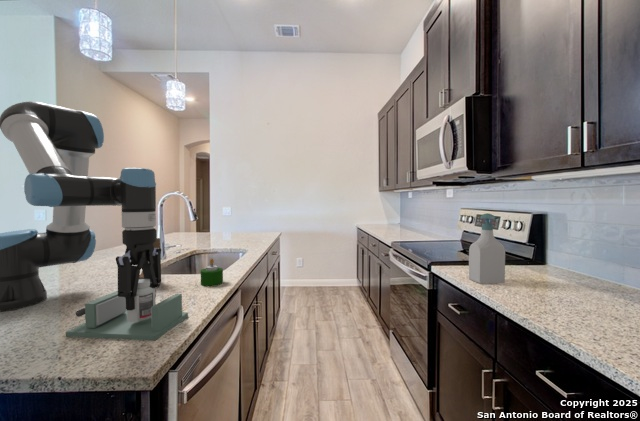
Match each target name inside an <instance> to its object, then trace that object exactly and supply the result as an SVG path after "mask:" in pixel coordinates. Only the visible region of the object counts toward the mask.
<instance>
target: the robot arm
mask: <svg viewBox="0 0 640 421" xmlns="http://www.w3.org/2000/svg"><path fill="white" fill-rule="evenodd" d="M0 130H1V133H2V134H3V135H4V137H5V138H6V139H7V140H9V141H10V142H12V143H13V145H14V147H15V149H16V151H17V153H18V154H19V155H18V156H20V158H21V160H22V162H23V164H24V166H25V168H26V170H27V172H28V173H29V174H28V175H26V177H25V179H24V184H23V185H24V187H23V189H24V192H23V193H24V195H25V200H26V202H27V203H28V204H29V205H31V206H34V207H49V208H53V210H52V222H51V223H49V224H47V225H46V227H45V228H46V229H45V232H38V230H37V228H31V229H30V228H28V229H19V230H12V231H6V232H1V233H0V312H6V311H13V310H17V309H18V310H19V309H21V308H26V307H29V306H33V305H36V304H39V303H41V302H44V301H45V300H47V299H48V294H47V293H48V292H47V290H46V288H45V285H44V284H43V281H42V280H41V278H40V275H39V272H40V271H39V269H40V268H44V267H52V266H58V265H60V266H61V265H67V264H74V263H78V262H83V261H84V262H85V261H87V260H88V259H90V257H92V256H93V254H94V253H95V249H96V244H97V240H96V234H95V231H94V230H93V229H90V225H88V224H87V223H86V222H85V221H86V206H87V207H88V206H89V207H91V206H93V207H95V206H97V207H98V206H99V207H100V206H104V207H108V206H109V207H110V206H118V207H119V206H121V228H122V229H123V230H122V231H121V232H122V235H121V236H122V240H121V241H122V244H123V245H125V246H126V248H125V251H124V254H122V255H120V256H116V257H115V263H116V265H117V291H118V297H125V298H126V310H127V322H139V321H140V315H139V296H136V293H137V287H138V281H139V275H140V274H141V272H142V271H143V275H144V279H150V286H149V287H151V288H153V293H154V294H153V295H154V305H156V304H157V303H156V299H157V298H156V297H157V291H156V290H157V289H156V288H160V286H161V285H160V283H162V264H161V263H162V261H161V262H160V255H161V256H162V248H161V247H160V248H154V246H153V243H155V242H156V241H157V238H158V237H157V232H158V231H157V229H156V228H154V227H156V226H157V212H156V209H157V207H156V206H157V205H156V204H157V203H156V202H157V200H156V199H157V197H156V196H157V194H156V193H157V192H156V191H157V183H156V176H155V175H156V174H155V172H154V171H153V170H152V169H149V168H141V167H124V168H121V171H120V177H107V176H88V175H89V166H90V165H89V164H90V157H92V156H93V155H95V154H96V149H100V148H102V147H103V144H104V143H105V142H104V141H105V139H104V138H105V136H104V135H105V134H104V128H103V125H102V123H101V121H100V119H99V118H98V116H96V115H95V114H93V113H90V112H86V111H83V110H81V109H79V110H78V109H73V108H68V107H64V106H59V105H54V104H49V103H44V102H40V101H22V102H18V103H15V104H12V105H10V106H9V107H7V108H6V109H5V110H3V112H2V113H1V114H0ZM156 278H157V279H156ZM158 283H159V284H158Z"/></svg>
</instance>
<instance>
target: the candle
mask: <svg viewBox="0 0 640 421" xmlns="http://www.w3.org/2000/svg"><path fill="white" fill-rule="evenodd" d="M214 261H215V260H214V259H213V258H210V259H209V264H210V265H207V266H206V267H205V268H203V269H200V285H201V286H202V287H207V286H209V287H216V286H220V285H222V284H224V268H222V267H218V265H214Z"/></svg>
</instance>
